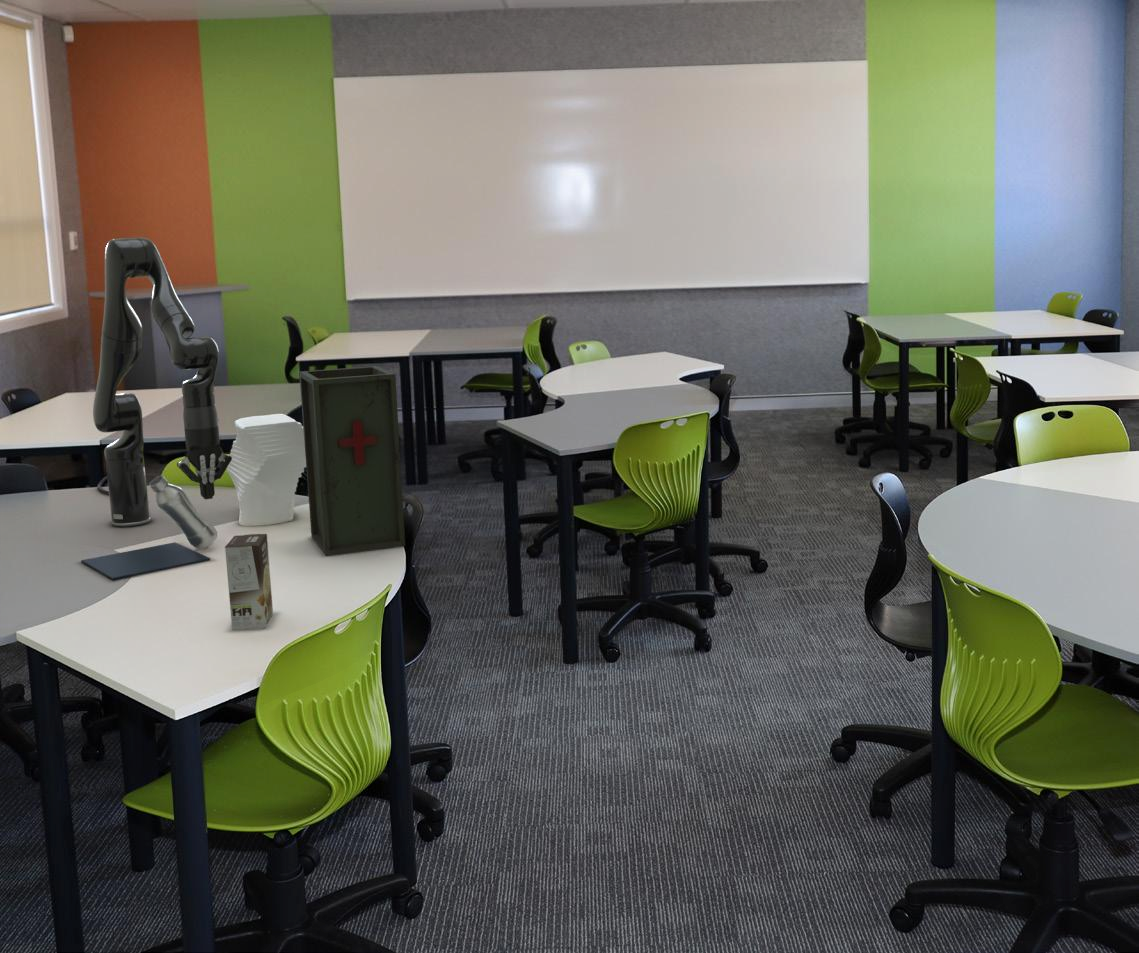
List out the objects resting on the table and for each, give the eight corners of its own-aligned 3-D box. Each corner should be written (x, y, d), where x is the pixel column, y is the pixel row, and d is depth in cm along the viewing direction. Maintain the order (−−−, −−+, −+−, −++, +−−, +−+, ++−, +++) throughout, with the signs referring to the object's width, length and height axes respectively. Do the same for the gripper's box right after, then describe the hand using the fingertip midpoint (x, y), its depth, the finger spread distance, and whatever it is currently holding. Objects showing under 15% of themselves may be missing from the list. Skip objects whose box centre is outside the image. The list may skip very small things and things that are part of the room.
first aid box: (325, 555, 275) (312, 380, 267) (311, 537, 292) (299, 371, 284) (405, 546, 282) (395, 374, 274) (387, 528, 299) (377, 366, 291)
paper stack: (235, 531, 300) (226, 428, 295) (229, 508, 325) (221, 413, 320) (321, 523, 306) (314, 422, 301) (309, 501, 332) (302, 407, 326)
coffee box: (266, 628, 226) (259, 545, 223) (231, 630, 225) (223, 547, 222) (274, 613, 235) (267, 532, 232) (240, 615, 234) (233, 534, 231)
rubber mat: (81, 562, 276) (81, 560, 276) (175, 544, 289) (175, 542, 289) (112, 580, 261) (112, 578, 260) (210, 560, 274) (210, 558, 274)
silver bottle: (216, 548, 280) (163, 485, 270) (192, 556, 283) (139, 494, 272) (224, 530, 285) (173, 467, 275) (201, 538, 288) (149, 476, 277)
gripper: (221, 419, 286) (227, 491, 289) (166, 426, 278) (173, 500, 281) (235, 423, 280) (241, 496, 284) (180, 430, 272) (187, 505, 275)
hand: (207, 498), depth 282 cm, fingers closed
